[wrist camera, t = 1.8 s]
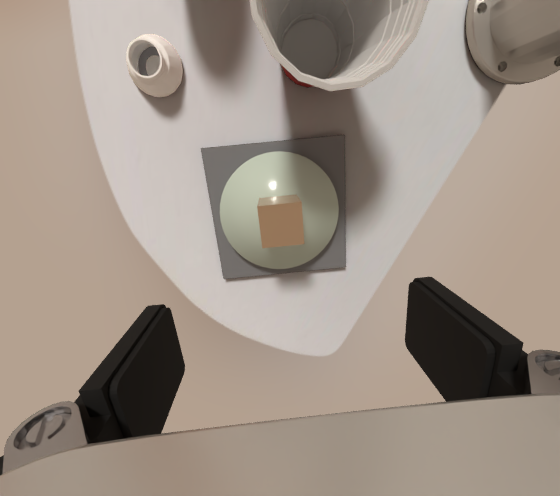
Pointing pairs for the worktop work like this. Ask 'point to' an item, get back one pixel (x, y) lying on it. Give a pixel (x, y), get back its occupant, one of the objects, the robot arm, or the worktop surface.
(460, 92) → the worktop surface
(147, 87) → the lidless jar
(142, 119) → the worktop surface
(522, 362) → the robot arm
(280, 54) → the plastic cup
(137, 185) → the worktop surface
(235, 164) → the mat
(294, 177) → the lid
